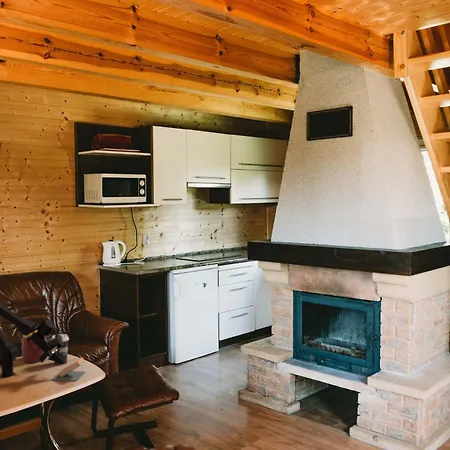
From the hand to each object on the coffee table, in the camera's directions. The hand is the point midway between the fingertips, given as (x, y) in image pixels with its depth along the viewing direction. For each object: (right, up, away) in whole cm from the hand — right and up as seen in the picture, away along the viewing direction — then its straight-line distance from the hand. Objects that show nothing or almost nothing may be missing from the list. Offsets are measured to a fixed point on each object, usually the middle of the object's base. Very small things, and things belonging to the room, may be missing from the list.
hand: (63, 363), depth 273 cm
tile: (-1, -5, +1) cm, 5 cm away
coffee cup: (-8, -5, +21) cm, 23 cm away
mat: (+2, -7, 0) cm, 7 cm away
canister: (-24, -5, +28) cm, 37 cm away
